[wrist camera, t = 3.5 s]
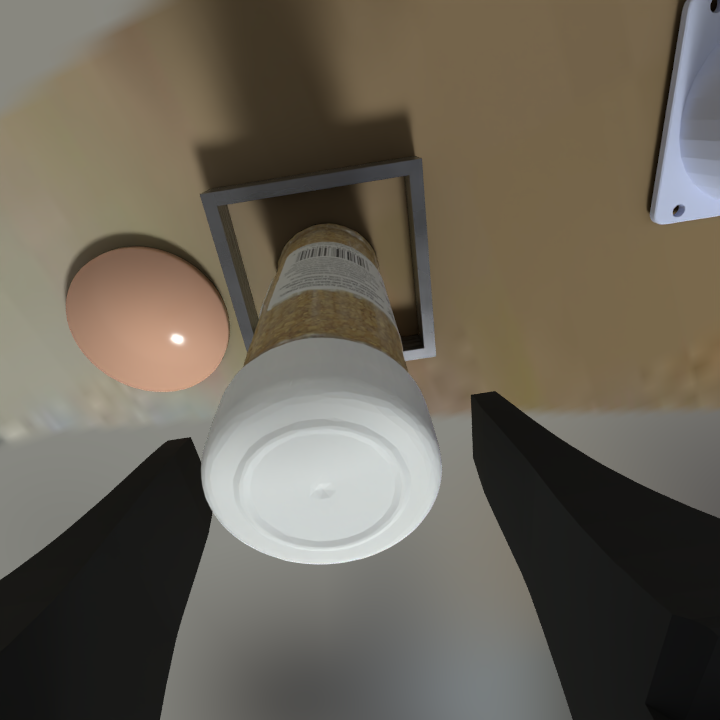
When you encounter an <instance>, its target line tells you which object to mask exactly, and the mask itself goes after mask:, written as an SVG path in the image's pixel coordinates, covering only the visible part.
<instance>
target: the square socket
mask: <svg viewBox="0 0 720 720" xmlns="http://www.w3.org/2000/svg"><path fill="white" fill-rule="evenodd" d="M400 176H405V186H406V197H407V208H408V219H409V230H410V241H411V252H412V263H413V274H414V286H415V297H416V308H417V319H418V330H419V335H412V336H406V337H400V338H401V342H402V347H403V356H404V359H405V361H408V360H415V359H421V358H428V357H435V356H436V350H435V336H434V322H433V308H432V294H431V280H430V266H429V253H428V239H427V225H426V211H425V197H424V183H423V169H422V158H419V157H417V156H411V157H405V158H398V159H392V160H386V161H380V162H374V163H368V164H361V165H355V166H349V167H343V168H337V169H331V170H325V171H318V172H312V173H306V174H300V175H294V176H288V177H281V178H275V179H269V180H263V181H257V182H251V183H245V184H238V185H232V186H226V187H220V188H214V189H209V190H207V191H205V192H204V193H202V194H200V197H201V200H202V203H203V207H204V210H205V213H206V217H207V220H208V223H209V227H210V230H211V233H212V237H213V240H214V243H215V247H216V250H217V253H218V257H219V260H220V263H221V267H222V270H223V273H224V277H225V280H226V283H227V287H228V290H229V293H230V297H231V300H232V303H233V307H234V310H235V313H236V317H237V320H238V323H239V327H240V330H241V333H242V337H243V340H244V343H245V347H246V350H247V352H248V349H249V347H250V344H251V342H252V339H253V336H254V333H255V329H256V327H257V324H258V321H259V320H258V316H257V313H256V309H255V306H254V302H253V298H252V295H251V291H250V287H249V284H248V280H247V277H246V273H245V269H244V266H243V262H242V258H241V255H240V251H239V247H238V244H237V240H236V237H235V233H234V229H233V226H232V222H231V218H230V215H229V211H228V208H227V204H233V203H239V202H245V201H251V200H258V199H264V198H270V197H276V196H282V195H289V194H295V193H301V192H307V191H313V190H320V189H326V188H332V187H338V186H344V185H351V184H357V183H363V182H369V181H375V180H382V179H388V178H394V177H400Z"/></svg>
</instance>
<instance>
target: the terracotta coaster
mask: <svg viewBox="0 0 720 720" xmlns="http://www.w3.org/2000/svg"><path fill="white" fill-rule="evenodd" d="M66 314H67V321H68V324H69V328H70V331H71V333H72V335H73V338H74V339H75V341H76V343H77V345H78V346H79V348H80V349H81V351H82V352H83V353H84V355H85V356H86V357H87V358H88V359H89V360H90V361H91V362H92V363H93V364H94V365H95V366H96V367H97V368H99V369H100V370H101V371H103V372H104V373H105V374H107V375H108V376H110V377H112V378H113V379H115V380H117V381H119V382H121V383H123V384H126V385H128V386H131V387H134V388H138V389H142V390H146V391H154V392H170V391H177V390H182V389H186V388H189V387H192V386H194V385H196V384H198V383H200V382H201V381H203V380H204V379H206V378H207V377H208V376H209V375H210V374H212V373H213V372H214V370H215V369H216V368H217V367H218V365H219V363H220V362H221V360H222V358H223V356H224V354H225V352H226V349H227V346H228V342H229V337H230V324H229V317H228V313H227V309H226V307H225V304H224V301H223V300H222V298H221V296H220V294H219V292H218V291H217V289H216V288H215V286H214V285H213V284H212V283H211V281H210V280H209V279H208V278H207V277H206V276H205V275H204V274H203V273H202V272H201V271H200V270H198V269H197V268H196V267H195V266H193V265H192V264H190V263H189V262H187V261H186V260H184V259H182V258H180V257H178V256H176V255H174V254H171V253H169V252H166V251H163V250H159V249H156V248H150V247H141V246H130V247H122V248H117V249H113V250H110V251H108V252H105V253H103V254H101V255H99V256H98V257H96V258H94V259H92V260H91V261H89V262H88V263H87V264H86V265H84V266H83V267H82V268H81V269H80V270H79V272H78V273H77V274H76V275H75V277H74V279H73V280H72V282H71V284H70V287H69V290H68V293H67V299H66Z"/></svg>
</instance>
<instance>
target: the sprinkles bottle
mask: <svg viewBox="0 0 720 720" xmlns="http://www.w3.org/2000/svg"><path fill="white" fill-rule="evenodd" d="M441 475H442V462H441V454H440V449H439V445H438V441H437V438H436V434H435V431H434V427H433V423H432V420H431V417H430V414H429V411H428V408H427V405H426V402H425V399H424V397H423V395H422V392H421V390H420V388H419V387H418V385H417V384H416V382H415V381H414V379H413V378H412V377H411V376H410V374H409V373H408V369H407V366H406V362H405V359H404V356H403V347H402V342H401V338H400V334H399V331H398V328H397V325H396V321H395V318H394V315H393V312H392V309H391V306H390V302H389V299H388V296H387V293H386V289H385V286H384V283H383V280H382V277H381V275H380V270H379V263H378V261H377V258H376V255H375V252H374V250H373V249H372V247H371V246H370V244H369V243H368V242H367V241H366V240H365V239H364V238H363V237H362V236H361V235H360V234H359V233H357V232H356V231H354V230H351V229H349V228H347V227H345V226H339V225H337V224H330V223H327V224H317V225H313V226H310V227H309V228H306V229H304V230H303V231H301V232H298V233H297V234H296V235H295V236H294V237H293V238H292V239H290V240H289V242H288V243H287V244H286V245H285V247H284V248H283V250H282V253H281V256H280V259H279V261H278V272H277V274H276V276H275V277H274V278H273V280H272V282H271V284H270V286H269V289H268V291H267V294H266V297H265V299H264V302H263V304H262V307H261V311H260V316H259V321H258V324H257V327H256V329H255V333H254V336H253V339H252V342H251V344H250V347H249V349H248V352H247V357H246V359H245V362H244V366H243V368H242V369H241V370H240V371H239V372H238V373H237V374H236V376H235V377H234V378H233V380H232V381H231V383H230V384H229V386H228V387H227V388H226V390H225V392H224V394H223V396H222V399H221V401H220V404H219V406H218V409H217V411H216V414H215V416H214V419H213V422H212V425H211V428H210V431H209V434H208V437H207V441H206V443H205V446H204V450H203V455H202V460H201V479H202V487H203V490H204V494H205V498H206V500H207V502H208V504H209V506H210V508H211V510H212V511H213V513H214V515H215V516H216V517H217V519H218V520H219V521H220V523H221V524H222V525H223V526H224V527H225V528H226V529H227V530H228V531H229V532H230V533H231V534H233V535H234V536H235V537H236V538H238V539H239V540H240V541H242V542H243V543H245V544H246V545H248V546H250V547H252V548H254V549H256V550H257V551H260V552H262V553H265V554H267V555H270V556H273V557H276V558H279V559H283V560H286V561H291V562H297V563H306V564H334V563H343V562H349V561H354V560H357V559H362V558H365V557H368V556H371V555H374V554H377V553H378V552H381V551H383V550H385V549H387V548H389V547H391V546H393V545H395V544H396V543H398V542H399V541H401V540H402V539H404V538H405V537H406V536H408V535H409V534H410V533H411V532H412V531H413V530H415V529H416V528H417V526H418V525H419V524H420V523H421V522H422V521H423V519H424V518H425V516H426V515H427V514H428V512H429V511H430V509H431V508H432V506H433V503H434V501H435V499H436V497H437V494H438V491H439V487H440V482H441Z"/></svg>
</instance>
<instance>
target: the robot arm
mask: <svg viewBox="0 0 720 720" xmlns="http://www.w3.org/2000/svg"><path fill="white" fill-rule="evenodd" d="M711 2H712V0H687V1H686V2H685V4H684V7H683V10H682V15H681V22H680V28H679V34H678V40H677V47H676V53H675V59H674V65H673V72H672V78H671V84H670V90H669V97H668V103H667V109H666V115H665V122H664V128H663V134H662V141H661V147H660V153H659V159H658V166H657V172H656V178H655V184H654V191H653V197H652V203H651V209H650V218H651V220H652V221H653V222H655V223H658V224H670V223H676V222H682V221H689V220H695V219H702V218H708V217H714V216H720V0H717V7H716V10H715V11H714V12H713V13H712V11H711V10H710V4H711ZM677 205H679V209H678V211H677V212H676V213H675V214H674V215H673V209H674V208H675V207H676V206H677ZM471 411H472V437H473V438H472V439H473V459H474V462H475V465H476V468H477V472H478V475H479V478H480V481H481V484H482V487H483V490H484V493H485V495H486V497H487V499H488V502H489V504H490V506H491V508H492V511H493V513H494V515H495V517H496V519H497V521H498V523H499V526H500V528H501V530H502V532H503V534H504V536H505V539H506V541H507V542H508V545H509V547H510V549H511V551H512V554H513V556H514V558H515V560H516V562H517V564H518V566H519V568H520V571H521V573H522V575H523V578H524V580H525V583H526V585H527V587H528V590H529V592H530V595H531V598H532V600H533V603H534V606H535V609H536V612H537V615H538V617H539V620H540V623H541V626H542V629H543V632H544V634H545V637H546V640H547V643H548V646H549V649H550V652H551V655H552V658H553V661H554V664H555V667H556V670H557V673H558V676H559V678H560V681H561V685H562V688H563V691H564V694H565V697H566V700H567V703H568V706H569V709H570V713H571V715H572V719H573V720H720V518H717V517H715V516H712V515H710V514H707V513H705V512H702V511H699V510H697V509H695V508H692V507H690V506H687V505H685V504H683V503H681V502H678V501H676V500H674V499H671V498H669V497H667V496H665V495H662V494H660V493H658V492H655V491H653V490H651V489H649V488H647V487H645V486H643V485H641V484H639V483H637V482H634V481H633V480H631V479H629V478H627V477H625V476H623V475H621V474H619V473H617V472H615V471H614V470H612V469H610V468H608V467H606V466H604V465H602V464H601V463H599V462H597V461H595V460H594V459H592V458H590V457H588V456H587V455H585V454H584V453H582V452H581V451H579V450H577V449H576V448H574V447H572V446H571V445H569V444H568V443H566V442H565V441H563V440H561V439H560V438H558V437H557V436H555V435H554V434H553V433H551V432H550V431H548V430H547V429H545V428H544V427H542V426H541V425H540V424H538V423H537V422H535V421H534V420H533V419H531V418H530V417H529V416H527V415H526V414H525V413H523V412H522V411H521V410H519V409H518V408H517V407H515V406H514V405H513V404H511V403H510V402H509V401H508V400H506V399H505V398H504V397H502V396H501V395H500V394H498V393H497V392H496V391H494V392H487V393H480V394H474V395H471ZM211 518H212V510H211V508H210V506H209V504H208V502H207V500H206V498H205V494H204V490H203V487H202V479H201V461H200V458H199V456H198V454H197V451H196V449H195V446H194V444H193V442H192V439H191V437H189V438H182V439H176V440H170V441H167V442H165V443H164V444H163V445H162V446H161V447H159V448H158V449H157V450H156V451H155V452H153V453H152V454H151V455H150V456H149V457H148V458H147V459H146V460H145V461H144V462H142V463H141V464H140V465H139V466H138V467H137V468H136V469H135V470H134V471H133V472H132V473H131V474H129V475H128V476H127V477H126V478H125V479H124V480H123V481H122V482H121V483H120V484H119V485H117V486H116V487H115V488H114V489H113V490H112V491H111V492H110V493H109V494H108V495H107V496H106V497H104V498H103V499H102V500H101V501H100V502H99V503H98V504H96V505H95V506H94V507H93V508H92V509H91V510H89V511H88V512H87V513H86V514H85V515H84V516H83V517H81V518H80V519H79V520H78V521H77V522H75V523H74V524H73V525H72V526H71V527H70V528H68V529H67V530H66V531H65V532H64V533H62V534H61V535H60V536H59V537H57V538H56V539H55V540H54V541H53V542H51V543H50V544H49V545H47V546H46V547H45V548H44V549H42V550H41V551H40V552H38V553H37V554H36V555H34V556H33V557H31V558H30V559H29V560H28V561H26V562H25V563H23V564H22V565H21V566H20V567H18V568H17V569H15V570H14V571H13V572H11V573H10V574H8V575H7V576H5V577H4V578H2V579H1V580H0V720H160V716H161V711H162V705H163V700H164V694H165V689H166V684H167V679H168V674H169V670H170V665H171V660H172V655H173V651H174V646H175V642H176V638H177V634H178V630H179V626H180V623H181V620H182V616H183V613H184V610H185V607H186V604H187V601H188V598H189V594H190V591H191V588H192V585H193V582H194V579H195V575H196V572H197V569H198V566H199V563H200V559H201V556H202V553H203V550H204V547H205V543H206V540H207V537H208V533H209V528H210V523H211Z"/></svg>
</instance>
